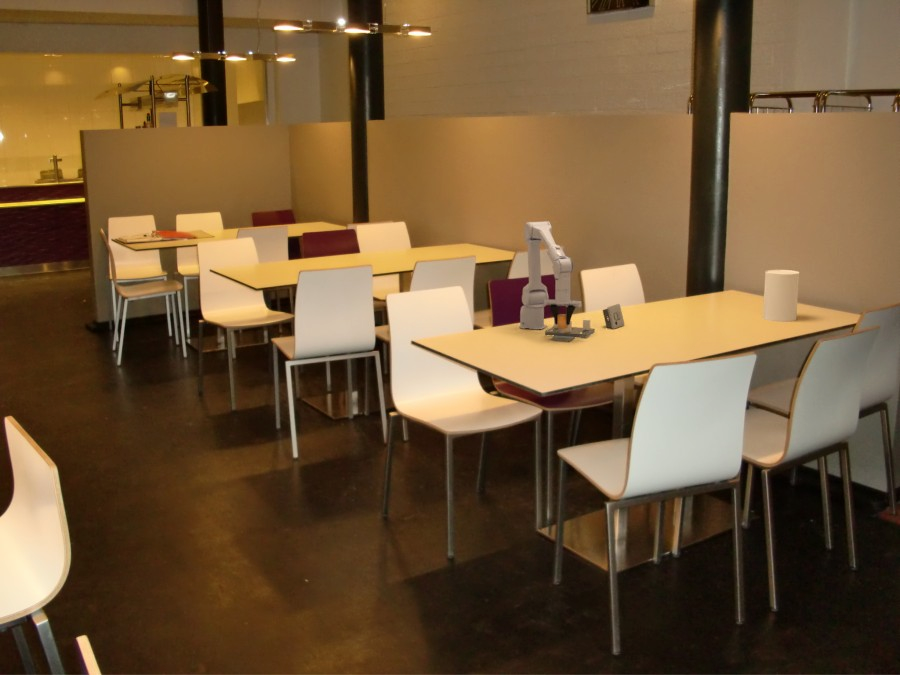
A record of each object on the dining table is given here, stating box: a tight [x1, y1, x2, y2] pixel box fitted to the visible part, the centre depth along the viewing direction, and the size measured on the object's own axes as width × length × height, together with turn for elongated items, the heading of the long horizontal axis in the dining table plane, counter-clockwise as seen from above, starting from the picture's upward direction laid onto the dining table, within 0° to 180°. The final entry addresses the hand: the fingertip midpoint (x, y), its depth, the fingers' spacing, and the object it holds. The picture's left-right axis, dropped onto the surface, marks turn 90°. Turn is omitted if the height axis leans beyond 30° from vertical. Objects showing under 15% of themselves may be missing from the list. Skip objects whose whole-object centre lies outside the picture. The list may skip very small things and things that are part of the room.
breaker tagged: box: [564, 320, 573, 332], centre depth 363 cm, size 2×2×4 cm
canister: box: [762, 269, 800, 323], centre depth 388 cm, size 14×14×20 cm
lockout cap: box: [557, 313, 568, 329], centre depth 356 cm, size 4×4×5 cm
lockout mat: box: [548, 335, 576, 343], centre depth 357 cm, size 8×8×1 cm
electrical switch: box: [602, 303, 625, 330], centre depth 378 cm, size 9×5×9 cm, turn 141°
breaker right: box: [582, 318, 591, 330], centre depth 366 cm, size 2×2×4 cm
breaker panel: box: [544, 325, 596, 339], centre depth 366 cm, size 17×12×2 cm
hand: (562, 324), depth 356 cm, fingers closed on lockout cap, 4 cm apart
